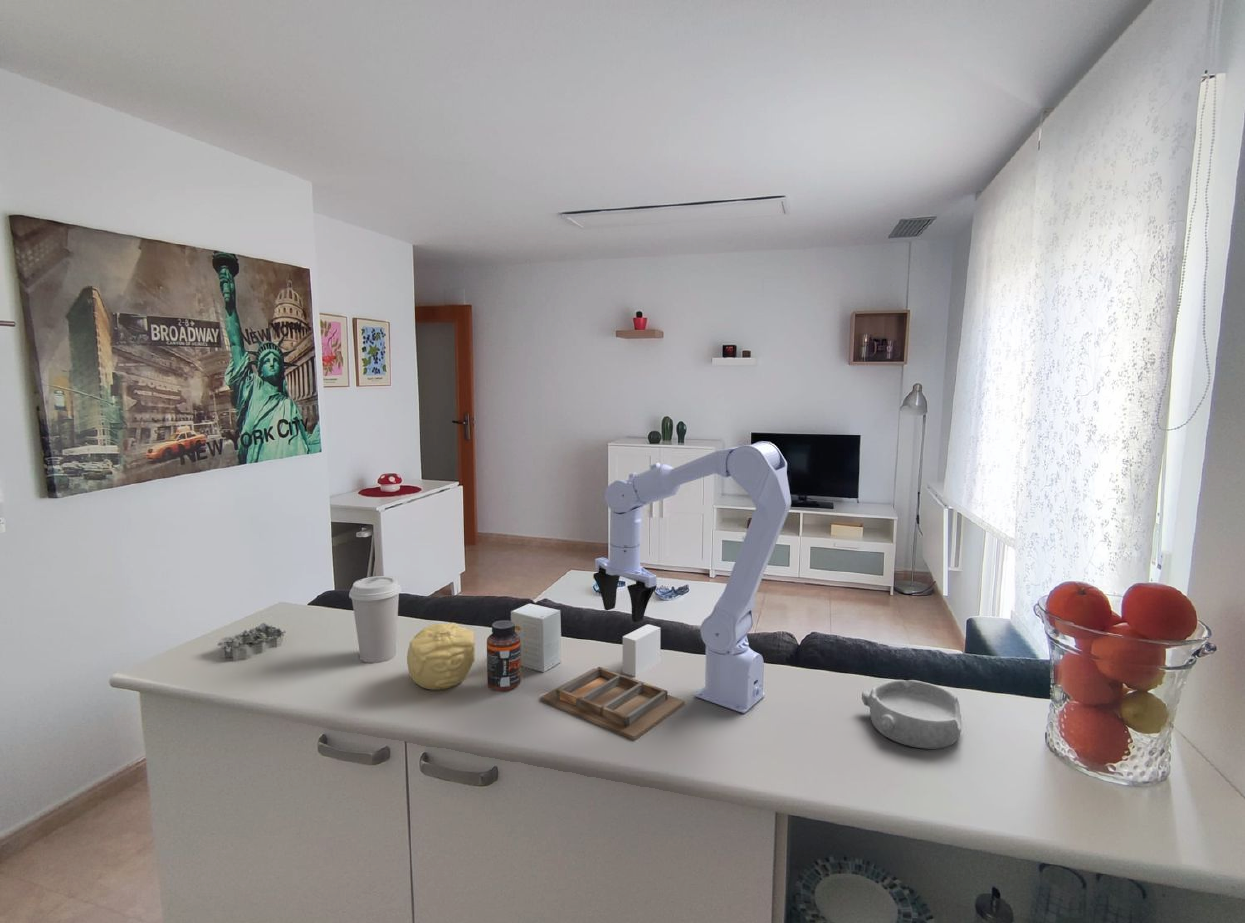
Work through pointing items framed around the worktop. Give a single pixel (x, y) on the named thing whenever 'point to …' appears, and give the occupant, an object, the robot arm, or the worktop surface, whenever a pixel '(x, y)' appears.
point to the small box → (538, 636)
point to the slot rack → (614, 701)
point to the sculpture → (441, 656)
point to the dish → (915, 713)
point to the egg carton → (251, 642)
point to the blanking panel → (641, 650)
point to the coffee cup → (376, 617)
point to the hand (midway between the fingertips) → (623, 614)
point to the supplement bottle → (503, 657)
